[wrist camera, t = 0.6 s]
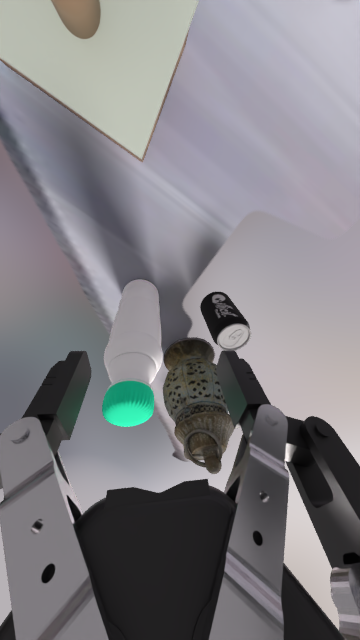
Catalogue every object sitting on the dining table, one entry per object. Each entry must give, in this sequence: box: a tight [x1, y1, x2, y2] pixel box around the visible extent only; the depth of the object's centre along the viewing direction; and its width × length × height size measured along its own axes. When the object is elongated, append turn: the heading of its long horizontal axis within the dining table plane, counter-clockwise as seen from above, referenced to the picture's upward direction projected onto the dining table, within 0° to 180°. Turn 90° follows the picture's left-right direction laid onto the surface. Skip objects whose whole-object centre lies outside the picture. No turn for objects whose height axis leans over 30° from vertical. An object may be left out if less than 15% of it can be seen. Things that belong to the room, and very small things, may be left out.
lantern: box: [163, 338, 235, 474], centre depth 38 cm, size 14×14×25 cm
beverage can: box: [201, 292, 251, 351], centre depth 36 cm, size 7×7×12 cm
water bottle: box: [102, 279, 163, 427], centre depth 27 cm, size 7×7×25 cm
